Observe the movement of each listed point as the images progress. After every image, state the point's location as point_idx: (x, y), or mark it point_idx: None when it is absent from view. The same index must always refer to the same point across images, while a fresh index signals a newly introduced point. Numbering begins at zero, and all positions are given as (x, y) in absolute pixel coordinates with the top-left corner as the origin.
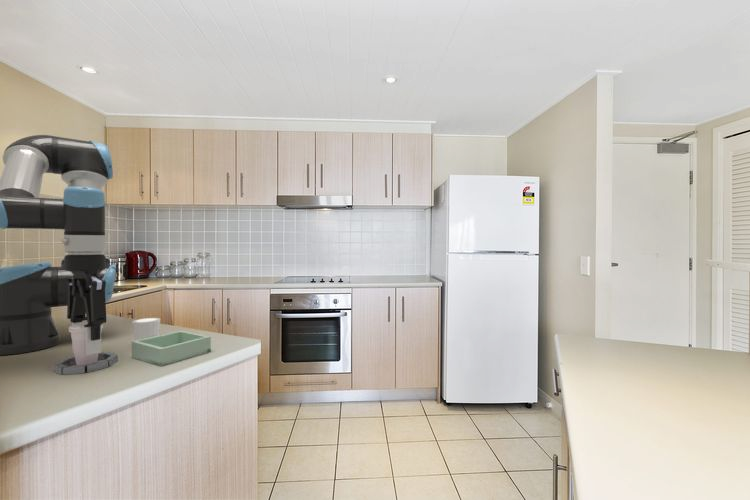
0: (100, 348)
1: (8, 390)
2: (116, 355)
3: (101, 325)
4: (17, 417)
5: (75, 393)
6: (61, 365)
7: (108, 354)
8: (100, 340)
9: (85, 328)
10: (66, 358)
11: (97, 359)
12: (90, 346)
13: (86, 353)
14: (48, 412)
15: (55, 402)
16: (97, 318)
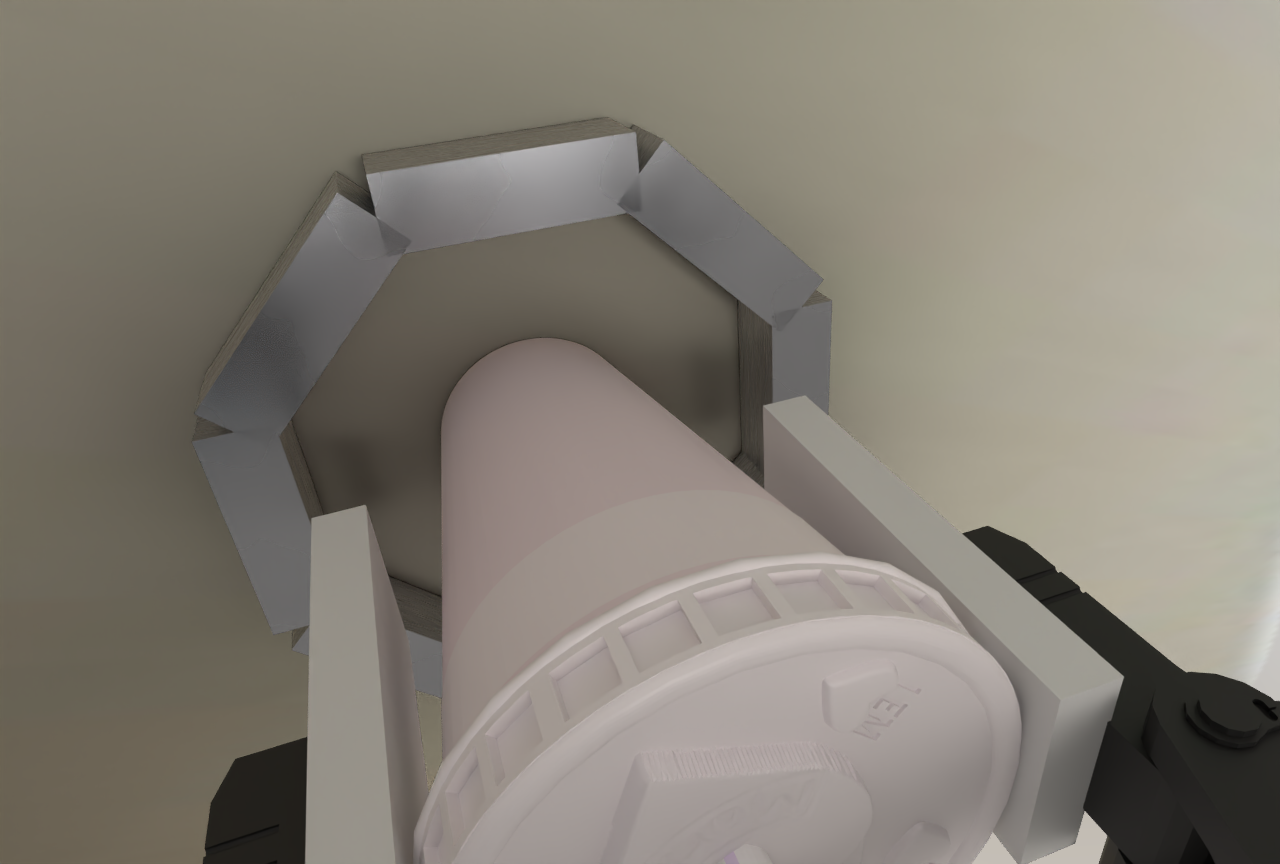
0: (834, 431)
1: None
2: (681, 157)
3: (958, 633)
4: None
5: (1136, 534)
6: None
7: (531, 225)
8: (903, 493)
9: (962, 834)
10: (284, 629)
11: (590, 357)
12: None
13: None
14: (1228, 625)
15: (1152, 609)
16: (1234, 860)
